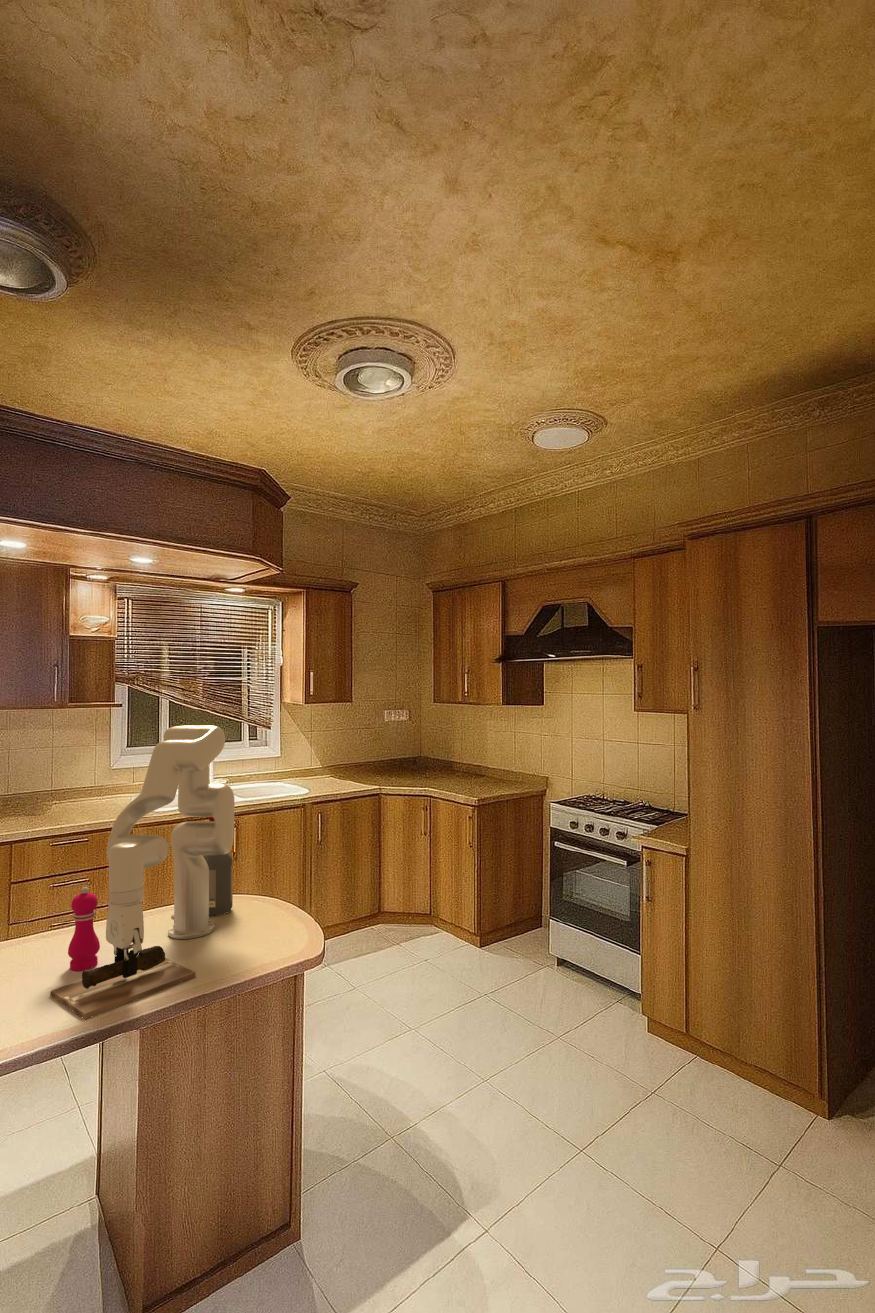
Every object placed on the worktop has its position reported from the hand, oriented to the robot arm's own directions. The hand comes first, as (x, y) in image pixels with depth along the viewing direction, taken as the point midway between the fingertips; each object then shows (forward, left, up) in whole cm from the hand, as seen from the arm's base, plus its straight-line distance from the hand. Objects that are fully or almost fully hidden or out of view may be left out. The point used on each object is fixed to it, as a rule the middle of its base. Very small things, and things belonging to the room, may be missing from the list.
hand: (125, 972), depth 157 cm
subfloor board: (0, 0, -3) cm, 3 cm away
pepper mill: (-20, -1, -3) cm, 20 cm away
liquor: (-30, +43, -3) cm, 52 cm away
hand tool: (0, 0, -1) cm, 1 cm away
